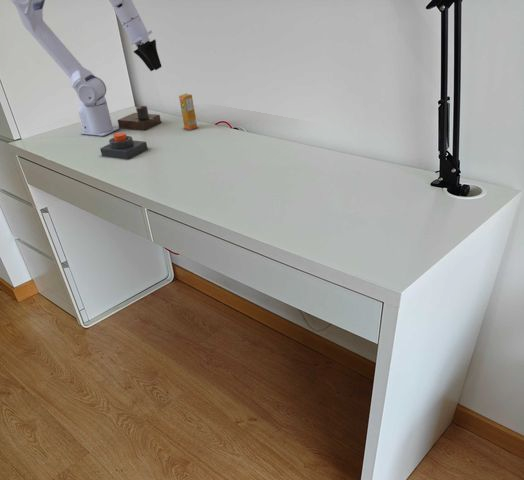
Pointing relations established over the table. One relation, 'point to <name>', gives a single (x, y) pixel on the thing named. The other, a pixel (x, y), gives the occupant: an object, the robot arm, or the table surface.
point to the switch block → (123, 148)
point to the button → (120, 137)
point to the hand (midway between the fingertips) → (156, 69)
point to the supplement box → (188, 111)
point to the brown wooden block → (138, 122)
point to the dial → (142, 112)
